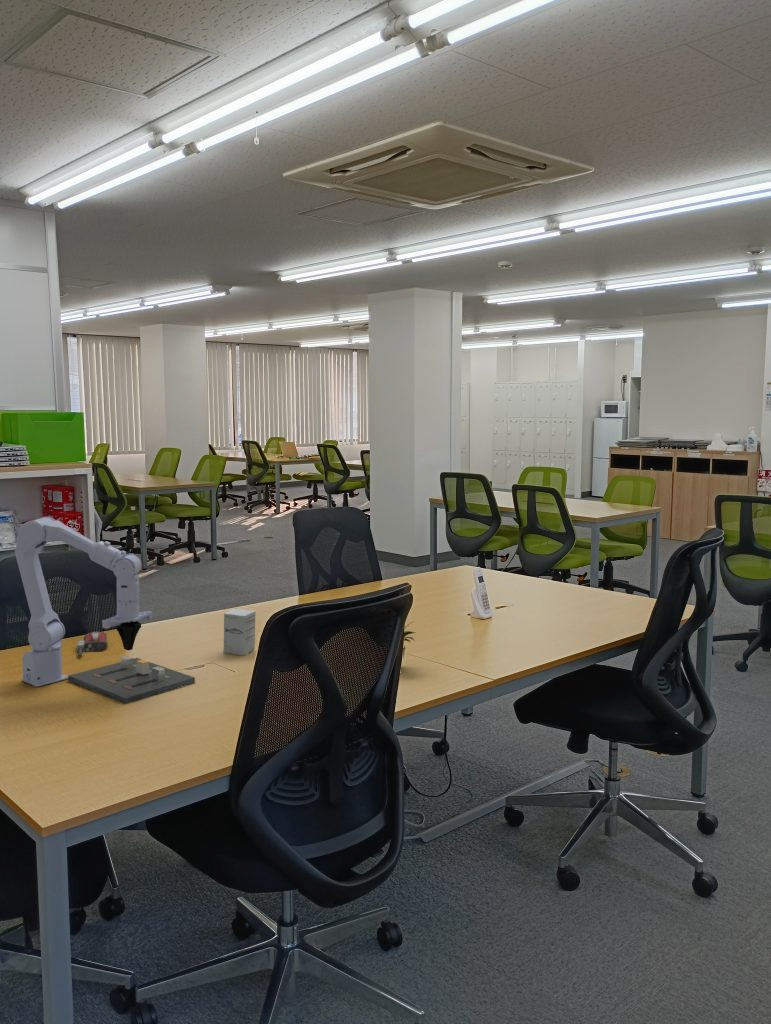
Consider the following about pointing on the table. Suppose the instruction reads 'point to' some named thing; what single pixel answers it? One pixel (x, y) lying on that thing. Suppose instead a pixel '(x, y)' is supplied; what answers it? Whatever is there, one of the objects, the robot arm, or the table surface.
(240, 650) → the supplement box
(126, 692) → the breaker board
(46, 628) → the robot arm
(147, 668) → the block
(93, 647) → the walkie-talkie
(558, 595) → the table surface
